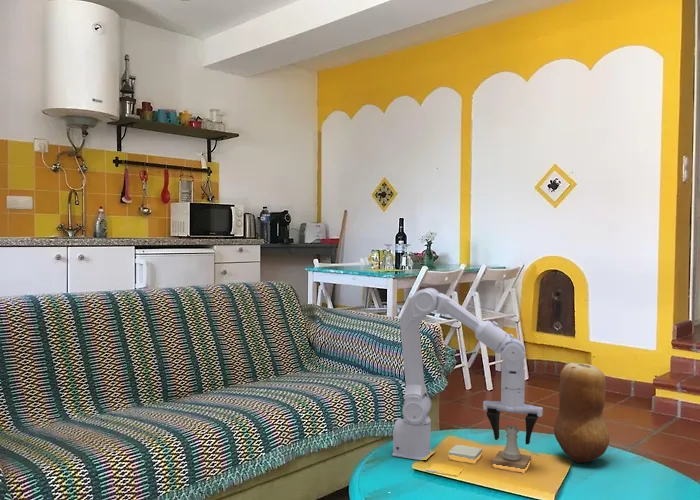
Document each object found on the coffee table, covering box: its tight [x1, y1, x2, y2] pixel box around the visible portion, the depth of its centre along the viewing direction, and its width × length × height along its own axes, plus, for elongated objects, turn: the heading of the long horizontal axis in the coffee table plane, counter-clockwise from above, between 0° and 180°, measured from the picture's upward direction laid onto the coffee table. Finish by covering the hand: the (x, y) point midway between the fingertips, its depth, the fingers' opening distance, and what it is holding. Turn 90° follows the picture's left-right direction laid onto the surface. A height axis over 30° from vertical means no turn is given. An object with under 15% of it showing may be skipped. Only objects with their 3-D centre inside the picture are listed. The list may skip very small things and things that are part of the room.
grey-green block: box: [447, 444, 483, 460], centre depth 160 cm, size 7×7×2 cm
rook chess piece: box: [502, 424, 522, 461], centre depth 154 cm, size 4×4×8 cm
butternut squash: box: [553, 362, 610, 464], centre depth 160 cm, size 14×13×25 cm
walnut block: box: [491, 450, 532, 469], centre depth 155 cm, size 8×8×2 cm
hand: (512, 441), depth 155 cm, fingers open, 7 cm apart
